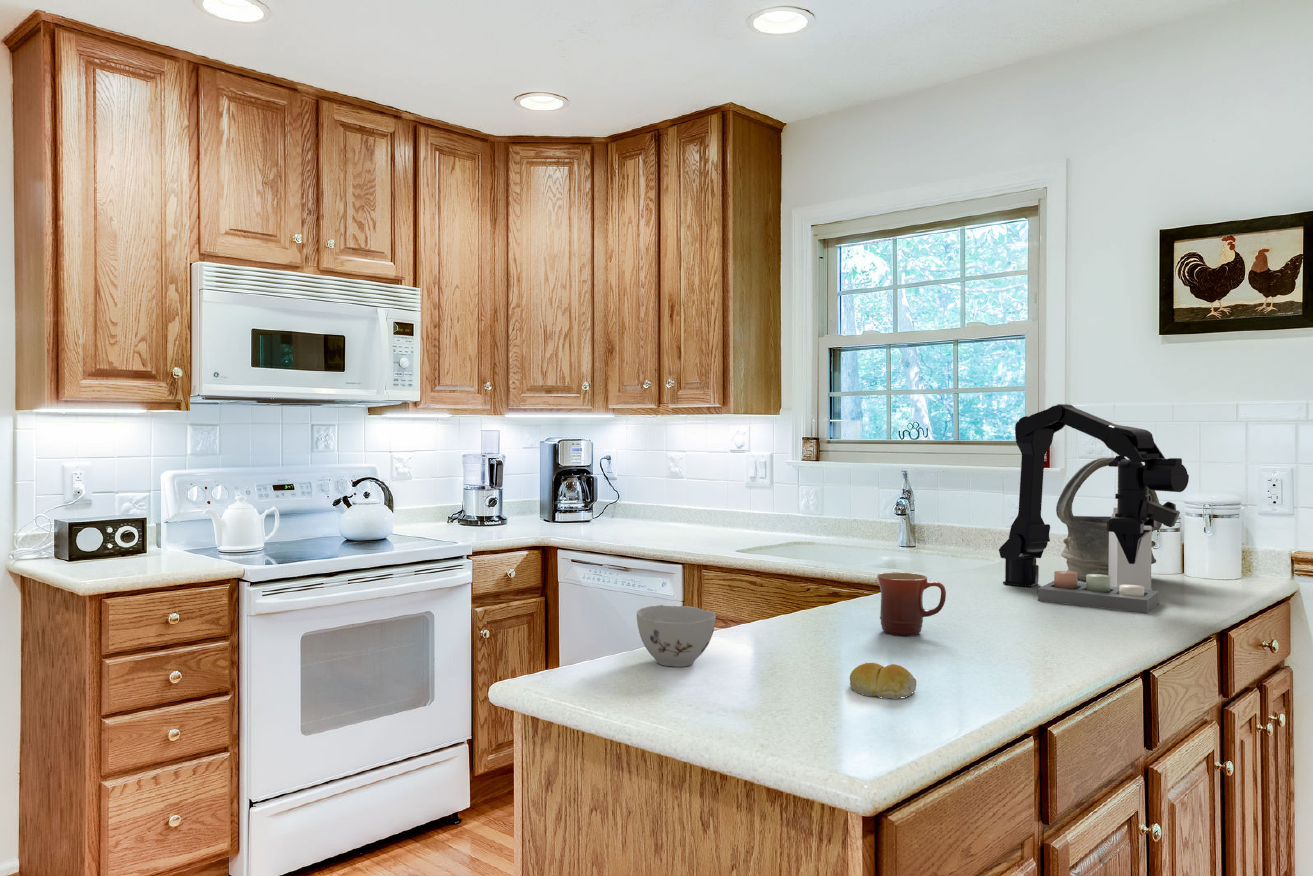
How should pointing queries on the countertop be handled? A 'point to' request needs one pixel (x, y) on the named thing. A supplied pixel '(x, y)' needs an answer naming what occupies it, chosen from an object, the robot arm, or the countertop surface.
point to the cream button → (1131, 590)
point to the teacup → (675, 633)
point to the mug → (905, 602)
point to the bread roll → (882, 680)
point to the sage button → (1098, 582)
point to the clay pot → (1087, 528)
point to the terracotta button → (1065, 579)
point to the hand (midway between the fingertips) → (1132, 563)
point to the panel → (1099, 598)
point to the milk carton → (1128, 572)
